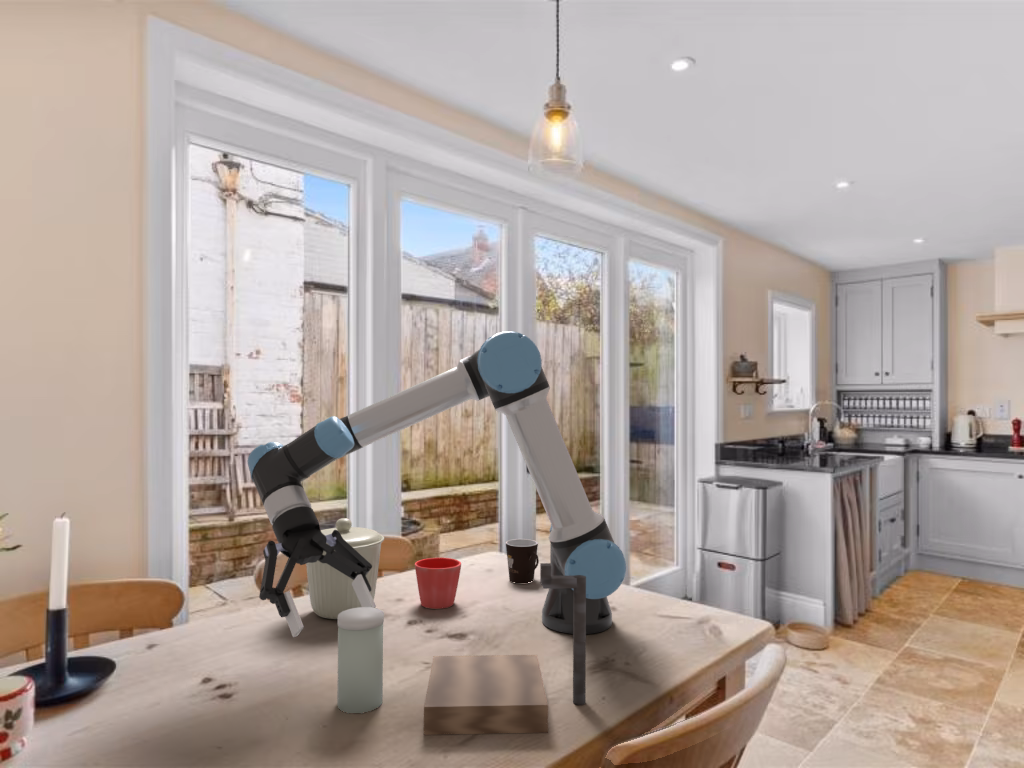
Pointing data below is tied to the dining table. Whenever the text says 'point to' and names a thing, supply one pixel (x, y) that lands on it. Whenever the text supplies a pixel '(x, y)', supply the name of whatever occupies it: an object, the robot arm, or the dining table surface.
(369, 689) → the domed lid bottle
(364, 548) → the canister
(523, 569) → the coffee mug
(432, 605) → the flower pot
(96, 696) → the dining table surface
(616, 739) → the dining table surface
